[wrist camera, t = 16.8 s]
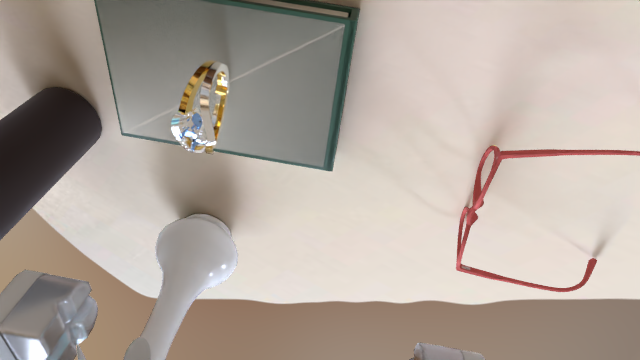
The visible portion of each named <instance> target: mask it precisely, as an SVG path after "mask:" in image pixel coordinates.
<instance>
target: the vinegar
mask: <svg viewBox="0 0 640 360" xmlns="http://www.w3.org/2000/svg"><path fill="white" fill-rule="evenodd" d="M101 130H102V127H101V122H100V119H99V117H98V115H97V113H96V111H95V110H94V109H93V107H92V106H91V105H90V104H89V103H88V102H87V101H86V100H85V99H83V98H82V97H81V96H79V95H78V94H76V93H74V92H72V91H70V90H67V89H63V88H58V87H55V88H46V89H44V90H42V91H41V92H39V93H37V94H36V95H35V96H33V97H32V98H30V99H29V100H28V101H26V102H25V103H23V104H22V105H21V106H19V107H18V108H17V109H15V110H14V111H12V112H11V113H10V114H8V115H7V116H5V117H4V118H3V119H1V120H0V240H1V239H2V238H3V237H4V236H5V235H6V234H7V233H8V232H9V231H10V229H12V228H13V227H14V226H15V225H16V224H17V223H18V222H19V220H21V218H22V217H23V216H24V215H25V214H26V213H27V212H28V211H29V210H30V209H31V208H32V207H33V206H34V205H35V204H36V203H37V202H38V201H39V200H40V199H41V198H42V197H43V196H44V195H45V194H46V193H47V192H48V191H49V190H50V189H51V188H52V187H53V186H54V185H55V184H56V183H57V182H58V181H59V180H60V178H61V177H62V176H63V175H64V174H65V173H66V172H67V171H68V170H69V169H70V168H71V167H72V166H73V165H74V164H75V163H76V162H77V161H78V160H79V159H80V158H81V157H82V156H83V155H84V154H85V153H86V152H87V151H88V150H89V149H90V148H91V147H92V146H93V145H94V144H95V143H96V141H97V140H98V139H99V138H100V134H101Z"/></svg>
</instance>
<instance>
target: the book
mask: <svg viewBox="0 0 640 360" xmlns="http://www.w3.org/2000/svg"><path fill="white" fill-rule="evenodd" d="M94 1H95V6H96V11H97V16H98V21H99V26H100V31H101V36H102V40H103V45H104V50H105V55H106V60H107V65H108V70H109V75H110V80H111V85H112V90H113V94H114V99H115V104H116V109H117V114H118V119H119V124H120V129H121V134H122V135H123V136H129V137H135V138H141V139H146V140H152V141H158V142H164V143H170V144H175V145H181V144H180V143H179V142H178V140H177V139H176V138H175V136H174V134H173V132H172V128H171V121H172V118H173V117H174V115H175V114H177V113H178V110H179V106H180V102H181V99H182V96H183V93H184V91H185V89H186V86H187V84H188V82H189V81H190V79H191V77H192V76H193V74H194V73H195V72H196V70H197V69H198V68H199V67H200V66H201V65H202V64H204V63H205V62H207V61H210V60H213V61H217V62H220V63H222V64H225V65H226V66H227V67H228V71H229V84H230V88H229V93H228V94H227V101H226V106H225V112H224V116H223V121H222V125H221V129H220V133H219V137H218V141H217V144H216V148H215V151H216V152H222V153H227V154H233V155H239V156H245V157H250V158H256V159H262V160H268V161H274V162H279V163H285V164H291V165H297V166H302V167H308V168H314V169H320V170H325V171H332V170H333V165H334V159H335V154H336V148H337V142H338V136H339V130H340V124H341V118H342V112H343V106H344V100H345V94H346V89H347V83H348V77H349V71H350V65H351V59H352V53H353V47H354V41H355V35H356V29H357V23H358V17H359V11H360V9H359V8H354V7H348V6H341V5H335V4H329V3H323V2H317V1H310V0H94ZM203 81H204V80H203ZM203 81H202V83H201V85H200V86H199V88H198V91H197V93H196V96H195V99H194V102H193V107H192V110H193V109H194V108H198V109H199V110H200V111H199V112H200V113H201V109H200V94H201V88H202V84H203ZM217 84H218V80H217V75H216V77H215V79H214V81H213V83H212V86H211V90H210V95H209V111H210V116H211V119H212V116H213V112H214V108H215V102H216V96H217V94H216V86H217ZM183 123H184V122H183V121H182V124H183ZM185 128H186V127H185ZM203 130H204V131H205V128H203ZM205 134H206V131H205ZM189 138H190V140H191V141H192V140H193V136H192V137H189ZM181 146H182V145H181Z"/></svg>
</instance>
